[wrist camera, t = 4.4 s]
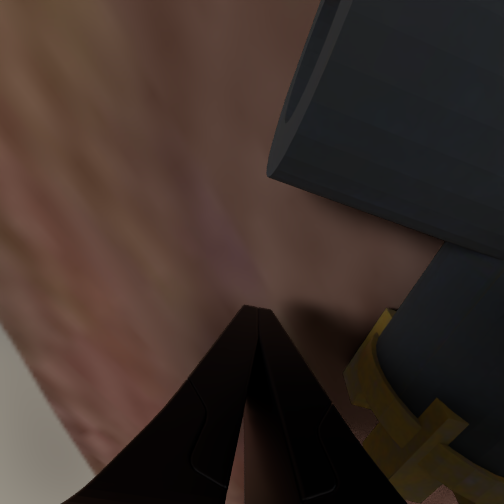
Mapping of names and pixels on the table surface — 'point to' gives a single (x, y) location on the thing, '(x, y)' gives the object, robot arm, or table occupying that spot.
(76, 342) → the table surface
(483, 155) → the pipe connector
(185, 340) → the table surface
